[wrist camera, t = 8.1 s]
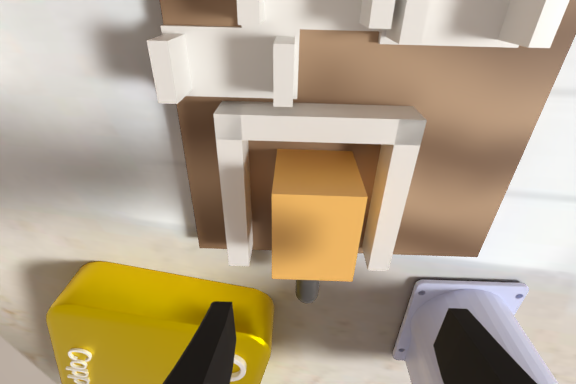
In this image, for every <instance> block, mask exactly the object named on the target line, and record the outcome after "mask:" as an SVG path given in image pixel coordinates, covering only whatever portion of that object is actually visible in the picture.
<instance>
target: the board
mask: <svg viewBox="0 0 576 384" xmlns="http://www.w3.org/2000/svg"><path fill="white" fill-rule="evenodd" d="M160 5H161V12H162V18H163V24H164V25H191V26H229V27H242V26H241V25H238V18H237V0H160ZM575 35H576V0H570V1H569V3H568V5H567V8H566V10H565V13H564V15H563V17H562V20H561V22H560V25H559V27H558V30H557V32H556V34H555V37H554V39H553V42H552V44H551V47H550V48H528V47H524V46H520V45H519V47H518V48H506V47H468V46H431V45H393V44H379V43H378V38H379V31H345V30H307V29H300V37H299V65H298V93H297V99H293V103H318V104H354V105H389V106H413V107H414V108H415V109H416V110H417V111H418V112H419V113H420V114H421V115H422V116H423V117H424V118H425V119H426V120H427V121H426V125H425V129H424V133H423V137H422V141H421V145H420V149H419V153H418V157H417V160H416V164H415V168H414V172H413V176H412V180H411V184H410V188H409V192H408V196H407V200H406V203H405V207H404V211H403V215H402V219H401V223H400V227H399V231H398V235H397V239H396V243H395V247H394V250H393V254H401V255H432V256H463V257H477V256H478V254H479V252H480V250H481V247H482V245H483V243H484V241H485V238H486V236H487V234H488V232H489V229H490V227H491V225H492V222H493V220H494V218H495V216H496V213H497V211H498V209H499V207H500V204H501V202H502V200H503V198H504V195H505V193H506V191H507V189H508V186H509V184H510V182H511V180H512V177H513V175H514V173H515V170H516V168H517V166H518V164H519V161H520V159H521V157H522V155H523V152H524V150H525V148H526V146H527V143H528V141H529V139H530V137H531V134H532V132H533V130H534V128H535V125H536V123H537V121H538V118H539V116H540V114H541V112H542V109H543V107H544V105H545V103H546V100H547V98H548V96H549V94H550V91H551V89H552V87H553V85H554V82H555V80H556V78H557V76H558V73H559V71H560V69H561V67H562V64H563V62H564V60H565V57H566V55H567V53H568V51H569V48H570V46H571V44H572V42H573V39H574V37H575ZM222 101H247V102H273V98H238V97H202V96H185V97H184V98H183V99H182V100H181V101H180V102H179V103H178V104H177V110H178V117H179V123H180V129H181V135H182V141H183V148H184V154H185V160H186V166H187V172H188V179H189V185H190V191H191V197H192V203H193V209H194V216H195V222H196V228H197V234H198V240H199V247H200V248H217V249H227V242H226V233H225V223H224V213H223V204H222V194H221V184H220V174H219V165H218V155H217V145H216V136H215V126H214V116H213V114H214V112H215V111H216V109H217V108H218V106H219V105H220V103H221V102H222ZM248 147H249V168H250V189H251V211H252V232H253V247H252V250H272V187H273V179H274V171H275V163H276V155H277V149H299V150H331V151H352V152H353V155H354V158H355V161H356V164H357V167H358V170H359V173H360V175H361V178H362V181H363V184H364V187H365V190H366V193H367V196H368V198H367V204H366V210H365V215H364V221H363V226H362V232H361V237H360V243H359V248H358V253H363V249H362V245H363V240H364V235H365V229H366V224H367V219H368V213H369V208H370V203H371V197H372V192H373V186H374V181H375V176H376V170H377V165H378V160H379V154H380V149H381V144H355V143H321V142H287V141H253V140H248Z"/></svg>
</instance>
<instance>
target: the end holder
mask: <svg viewBox="0 0 576 384" xmlns="http://www.w3.org/2000/svg"><path fill="white" fill-rule="evenodd" d="M213 116H214V126H215V136H216V145H217V155H218V165H219V174H220V184H221V194H222V204H223V213H224V223H225V233H226V242H227V252H228V262H229V266H249V264H250V259H251V253H252V247H253V232H252V211H251V189H250V168H249V147H248V140H253V141H287V142H321V143H355V144H381V149H380V154H379V160H378V165H377V170H376V176H375V181H374V186H373V192H372V197H371V203H370V208H369V213H368V219H367V224H366V229H365V235H364V240H363V245H362V249H363V253H364V257H365V261H366V265H367V269H368V270H376V271H388V270H389V266H390V262H391V258H392V254H393V250H394V247H395V243H396V239H397V235H398V231H399V227H400V223H401V219H402V215H403V211H404V207H405V203H406V200H407V196H408V192H409V188H410V184H411V180H412V176H413V172H414V168H415V164H416V160H417V157H418V153H419V149H420V145H421V141H422V137H423V133H424V129H425V125H426V121H427V120H426V119H425V118H424V117H423V116H422V115H421V114H420V113H419V112H418V111H417V110H416V109H415V108H414V107H413V106H389V105H354V104H318V103H293V107H273V102H247V101H222V102H221V103H220V105H219V106H218V108H217V109H216V111H215V112H214V114H213Z"/></svg>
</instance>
